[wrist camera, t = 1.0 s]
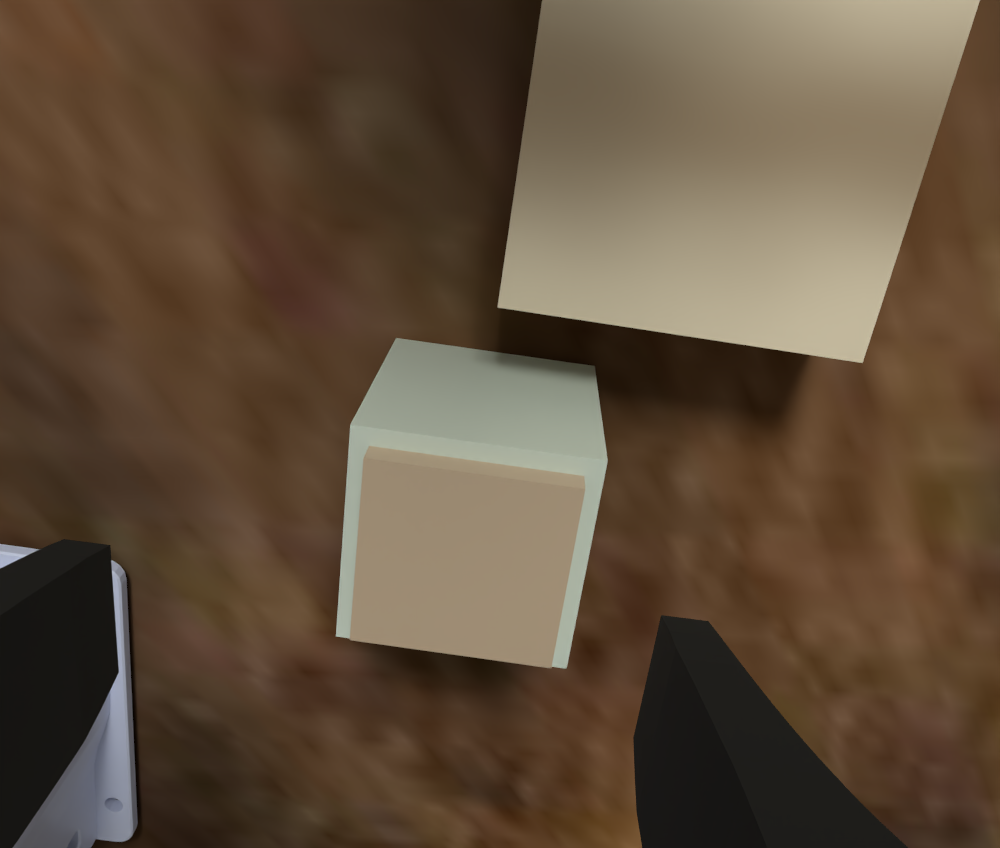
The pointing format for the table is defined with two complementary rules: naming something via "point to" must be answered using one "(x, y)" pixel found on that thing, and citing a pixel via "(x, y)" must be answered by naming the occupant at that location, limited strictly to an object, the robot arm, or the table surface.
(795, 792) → the robot arm
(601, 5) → the base block
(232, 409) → the table surface
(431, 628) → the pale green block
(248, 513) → the table surface
